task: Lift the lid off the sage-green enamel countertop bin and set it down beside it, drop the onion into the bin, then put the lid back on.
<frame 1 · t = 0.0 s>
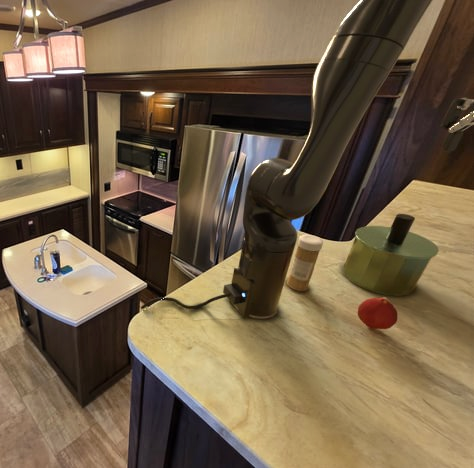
onion: (369, 327, 59), on the worktop
bin: (376, 278, 72), on the worktop
sprinkles bottle: (296, 286, 71), on the worktop
bin lid: (393, 242, 67), point 10 cm above the worktop, touching bin
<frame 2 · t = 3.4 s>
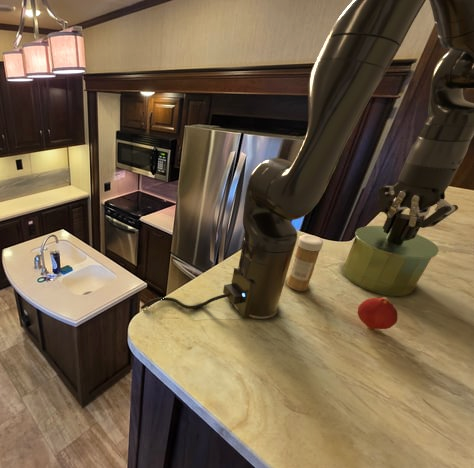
hand: (396, 235, 66), 12 cm above the worktop, tool pointing down, fingers closed on bin lid, 3 cm apart
bin lid: (393, 242, 67), point 11 cm above the worktop, touching bin, gripper
everything else where it was.
when the fingers open (2 cm above the worktop, at t = 11.8 s): bin lid stays where it is, point 1 cm above the worktop.
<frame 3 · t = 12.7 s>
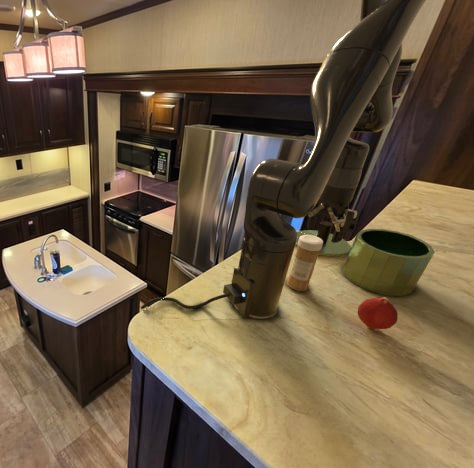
hand: (322, 235, 85), 3 cm above the worktop, tool pointing down, fingers open, 8 cm apart
bin lid: (319, 243, 86), point 1 cm above the worktop
everything else where it was.
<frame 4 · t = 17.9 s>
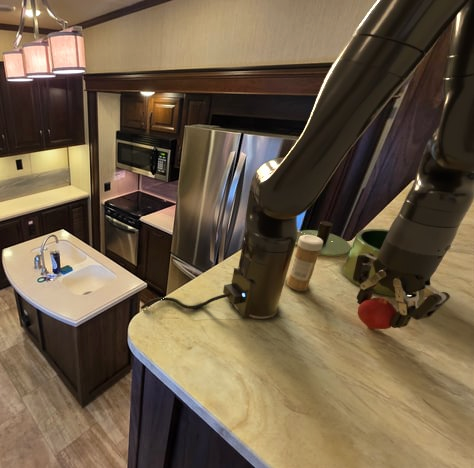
hand: (378, 314, 57), 4 cm above the worktop, tool pointing down, fingers closed on onion, 6 cm apart
onion: (369, 327, 59), on the worktop, touching gripper
everything else where it was.
when the fingers open (9 cm above the worktop, at t = 24.5 s): onion drops 5 cm, resting on bin.
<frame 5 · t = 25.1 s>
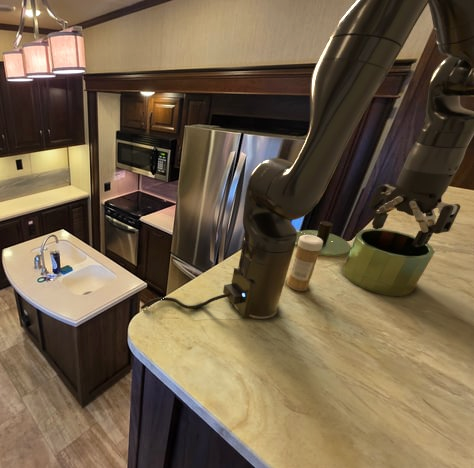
hand: (396, 236, 66), 12 cm above the worktop, tool pointing down, fingers open, 8 cm apart
onion: (377, 275, 71), point 1 cm above the worktop, touching bin
everything else where it was.
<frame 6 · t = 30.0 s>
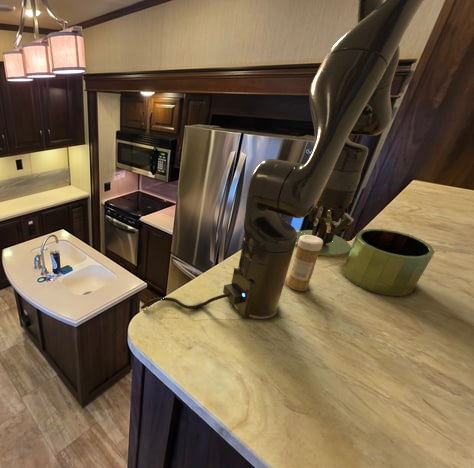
hand: (320, 239, 85), 2 cm above the worktop, tool pointing down, fingers closed on bin lid, 3 cm apart
bin lid: (319, 243, 86), point 1 cm above the worktop, touching gripper
everything else where it was.
when the fingers open (12 cm above the worktop, at t = 38.3 s): bin lid stays where it is, resting on bin.
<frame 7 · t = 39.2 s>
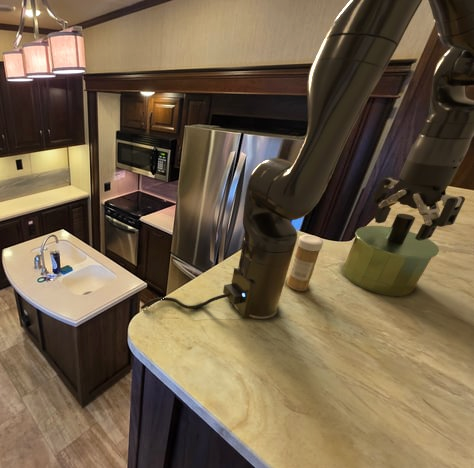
hand: (399, 230, 65), 14 cm above the worktop, tool pointing down, fingers open, 8 cm apart
bin lid: (393, 242, 67), point 10 cm above the worktop, touching bin
everything else where it was.
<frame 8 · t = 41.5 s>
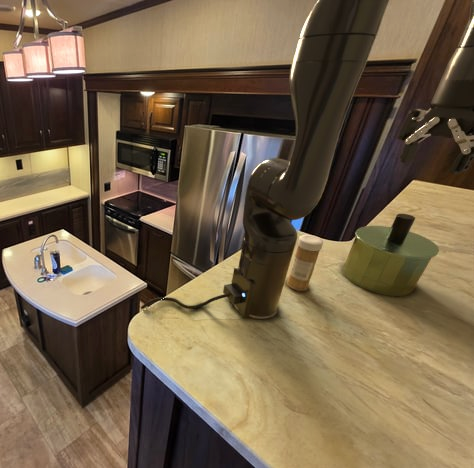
hand: (429, 167, 58), 28 cm above the worktop, tool pointing down, fingers open, 8 cm apart
nothing on the worktop moved.
at the end: onion inside the target area in the bin (0.4 cm from its centre), point 1.1 cm above the bin's base; bin lid 0.2 cm off-centre on the bin, point 10.5 cm above the bin's base; bin lid tilted 0° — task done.
